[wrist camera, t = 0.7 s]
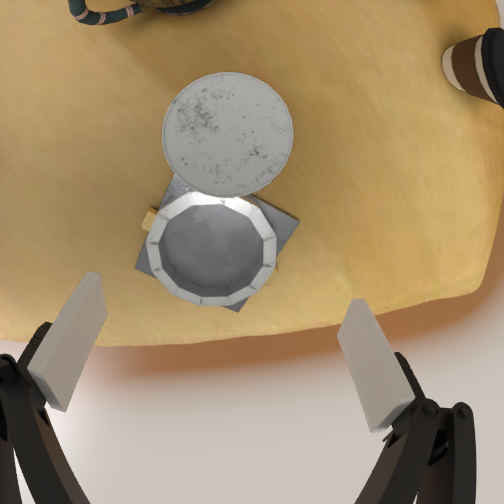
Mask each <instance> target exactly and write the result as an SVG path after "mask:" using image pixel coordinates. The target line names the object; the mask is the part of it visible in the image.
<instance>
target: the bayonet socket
mask: <svg viewBox="0 0 504 504" xmlns="http://www.w3.org/2000/svg"><path fill="white" fill-rule="evenodd" d="M299 223H300V221H299V220H298V219H297V218H295V217H293V216H291V215H289V214H287V213H286V212H284V211H282V210H280V209H278V208H276V207H274V206H273V205H271V204H269V203H267V202H265V201H263V200H261V199H259V198H258V197H256V196H254V195H252V194H249V195H246V196H241V197H236V198H216V197H212V196H208V195H204V194H202V193H199V192H197V191H195V190H193V189H191V188H190V187H188V186H187V185H186V184H185V183H183V182H182V181H181V180H180V179H179V178H178V177H177V176H176V174H174V176H173V178H172V180H171V182H170V184H169V187H168V189H167V191H166V193H165V195H164V198H163V200H162V202H161V204H160V207H159V209H158V211H157V210H155V209H153V208H150V209H149V210H148V212H147V214H146V217H145V219H144V222H143V224H142V227H141V228H143V229H145V230H147V231H149V233H148V235H147V238H146V240H145V243H144V245H143V248H142V250H141V253H140V255H139V258H138V261H137V263H136V266H135V269H137V270H139V271H141V272H144V273H146V274H148V275H150V276H152V277H155V278H157V279H159V281H160V282H161V283H162V284H163V285H164V286H165V287H166V289H167V290H168V291H169V292H170V293H172V295H175V296H177V297H179V298H182V299H184V300H186V301H189V302H191V303H194V304H196V305H199V306H200V305H201V306H223V307H225V308H228V309H230V310H233V311H235V312H239V311H240V309H241V308H242V306H243V305H244V303H245V302H246V301H247V299H248V298H249V296H251V295H253V294H255V293H257V292H258V291H259V290H260V289H261V287H262V286H263V285H264V284H266V285H268V286H270V284H271V283H272V282H273V280H274V279H275V277H276V276H277V275H278V273H279V270H278V267H276V257H277V255H278V254H279V252H280V251H281V250H282V248H283V247H284V245H285V244H286V242H287V241H288V239H289V238H290V236H291V235H292V233H293V232H294V230H295V229H296V227H297V226H298V224H299Z"/></svg>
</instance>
